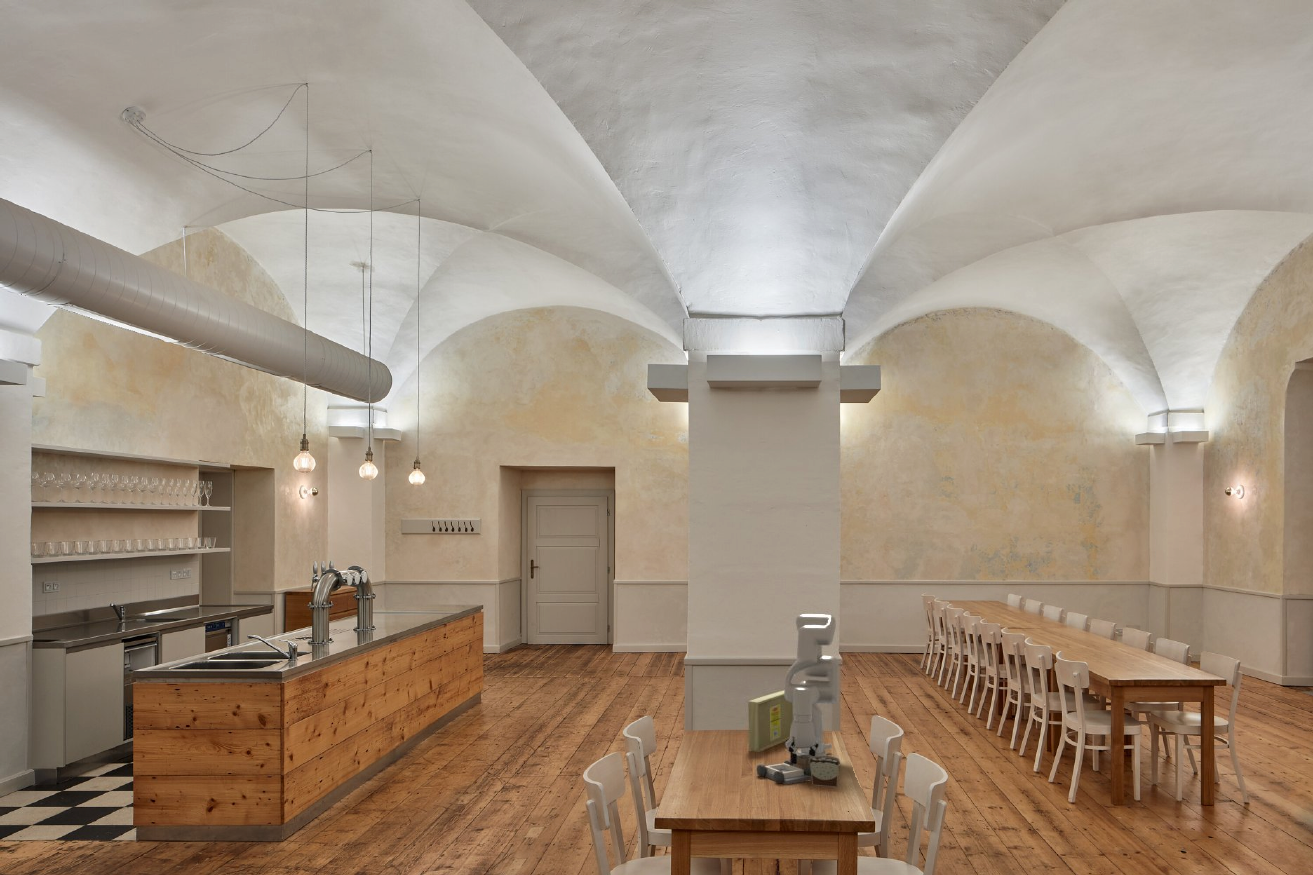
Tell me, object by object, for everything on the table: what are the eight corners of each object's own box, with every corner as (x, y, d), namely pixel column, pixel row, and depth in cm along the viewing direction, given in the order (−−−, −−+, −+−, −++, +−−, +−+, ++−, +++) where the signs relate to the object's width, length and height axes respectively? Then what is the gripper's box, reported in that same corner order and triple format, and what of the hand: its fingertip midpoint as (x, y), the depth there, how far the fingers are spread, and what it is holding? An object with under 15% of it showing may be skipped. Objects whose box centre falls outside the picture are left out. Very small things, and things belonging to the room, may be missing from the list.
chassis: (784, 769, 377) (784, 758, 377) (813, 779, 361) (813, 768, 362) (754, 774, 369) (754, 763, 369) (783, 785, 354) (783, 773, 354)
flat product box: (785, 736, 438) (784, 689, 440) (794, 738, 435) (793, 690, 437) (748, 750, 409) (748, 700, 411) (757, 752, 406) (757, 701, 409)
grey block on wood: (802, 767, 381) (802, 752, 381) (813, 771, 375) (813, 755, 375) (792, 768, 378) (792, 753, 379) (804, 772, 372) (803, 757, 373)
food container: (843, 783, 356) (842, 756, 357) (841, 787, 351) (840, 760, 352) (811, 780, 360) (810, 754, 361) (808, 784, 355) (808, 757, 356)
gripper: (812, 715, 386) (813, 758, 384) (780, 718, 377) (780, 762, 375) (824, 718, 379) (825, 761, 377) (791, 721, 371) (792, 766, 368)
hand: (803, 761), depth 376 cm, fingers open, 9 cm apart
